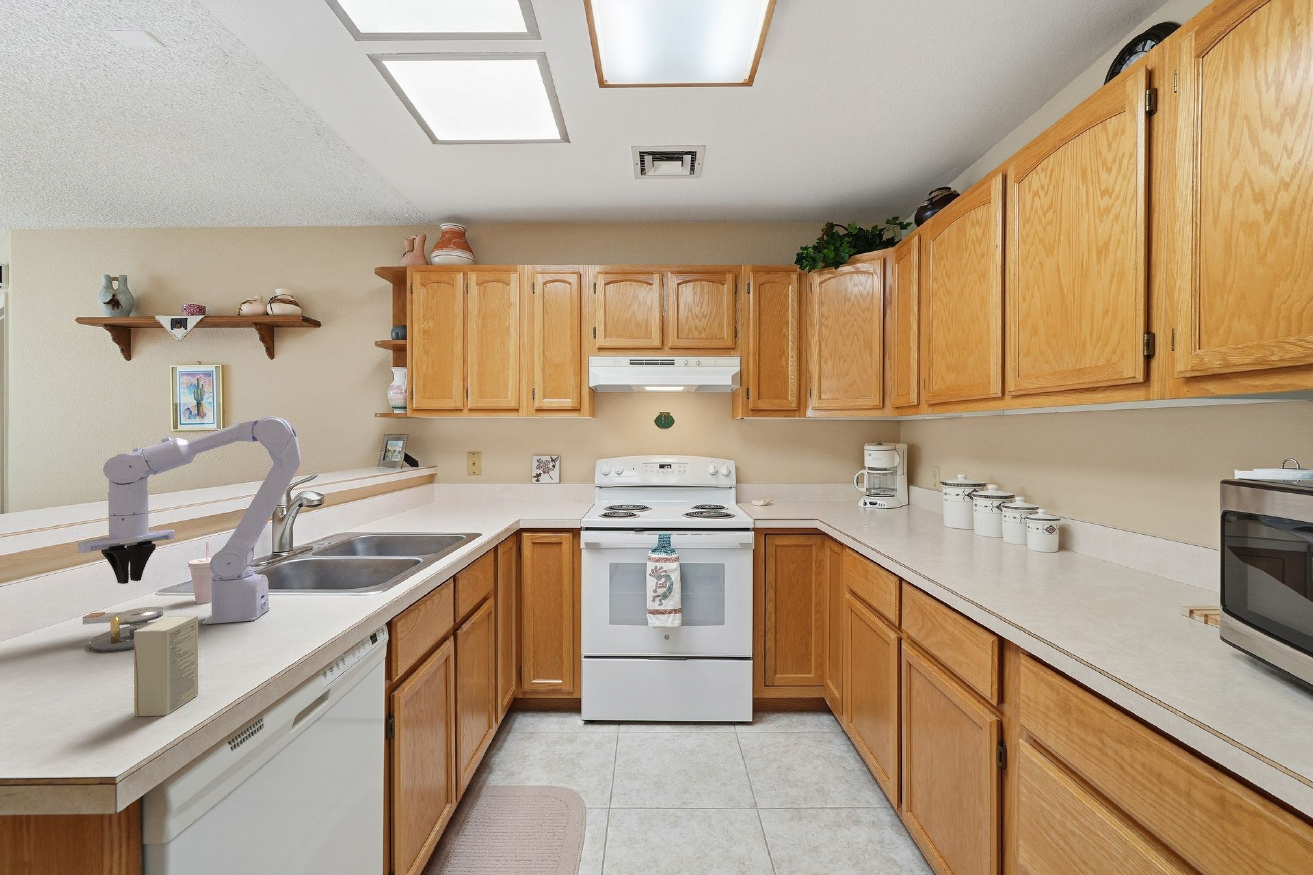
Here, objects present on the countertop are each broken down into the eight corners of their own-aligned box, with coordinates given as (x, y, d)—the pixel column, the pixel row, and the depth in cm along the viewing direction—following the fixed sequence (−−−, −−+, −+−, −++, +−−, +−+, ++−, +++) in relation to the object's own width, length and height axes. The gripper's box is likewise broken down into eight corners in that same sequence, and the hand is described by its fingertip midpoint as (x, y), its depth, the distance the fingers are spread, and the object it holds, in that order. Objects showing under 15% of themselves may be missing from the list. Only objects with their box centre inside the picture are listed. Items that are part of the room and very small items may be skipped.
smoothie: (203, 606, 124) (202, 545, 124) (180, 604, 125) (180, 544, 125) (230, 597, 130) (230, 539, 130) (208, 596, 132) (208, 538, 132)
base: (198, 624, 112) (197, 596, 112) (158, 648, 100) (157, 617, 100) (121, 630, 109) (121, 601, 109) (70, 655, 96) (70, 623, 96)
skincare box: (168, 696, 81) (168, 615, 81) (200, 695, 82) (199, 614, 82) (132, 718, 75) (131, 630, 75) (166, 716, 75) (165, 629, 75)
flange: (171, 611, 109) (171, 604, 109) (148, 622, 102) (148, 615, 102) (101, 616, 106) (101, 609, 106) (73, 628, 99) (73, 621, 99)
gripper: (159, 508, 116) (160, 571, 117) (67, 518, 103) (68, 589, 103) (180, 509, 114) (181, 574, 114) (90, 520, 100) (90, 593, 101)
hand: (129, 581), depth 108 cm, fingers closed
